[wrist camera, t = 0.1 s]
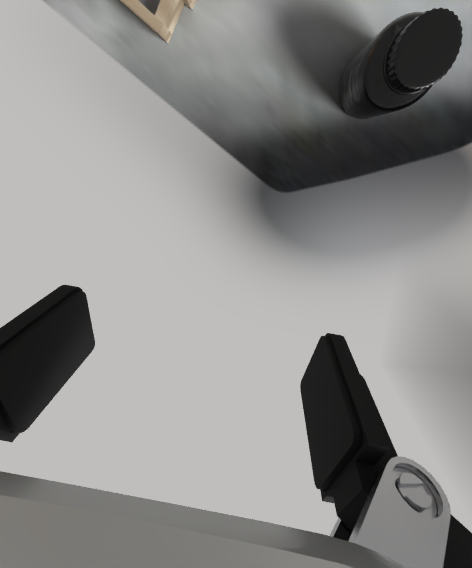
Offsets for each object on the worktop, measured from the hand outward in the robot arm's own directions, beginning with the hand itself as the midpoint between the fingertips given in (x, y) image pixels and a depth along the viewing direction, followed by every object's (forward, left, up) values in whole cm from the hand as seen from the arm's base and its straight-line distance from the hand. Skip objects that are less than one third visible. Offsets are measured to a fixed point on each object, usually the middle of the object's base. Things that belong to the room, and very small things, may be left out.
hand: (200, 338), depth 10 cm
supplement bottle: (-15, +12, -31) cm, 37 cm away
